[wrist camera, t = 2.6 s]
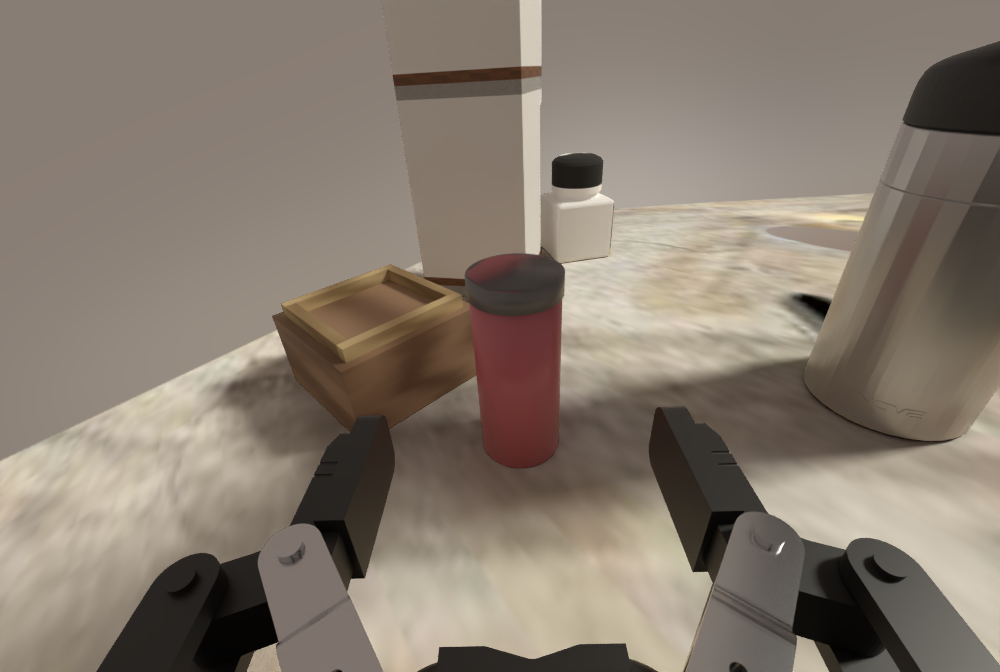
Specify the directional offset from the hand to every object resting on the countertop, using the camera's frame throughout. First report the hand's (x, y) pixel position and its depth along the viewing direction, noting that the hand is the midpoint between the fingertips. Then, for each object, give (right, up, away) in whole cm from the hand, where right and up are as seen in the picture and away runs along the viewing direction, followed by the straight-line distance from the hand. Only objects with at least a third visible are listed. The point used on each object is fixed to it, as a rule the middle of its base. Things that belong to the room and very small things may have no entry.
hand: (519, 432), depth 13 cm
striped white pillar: (-2, +10, +39) cm, 40 cm away
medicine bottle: (+9, +14, +45) cm, 48 cm away
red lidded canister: (+1, -4, +16) cm, 16 cm away
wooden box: (-10, 0, +23) cm, 25 cm away
